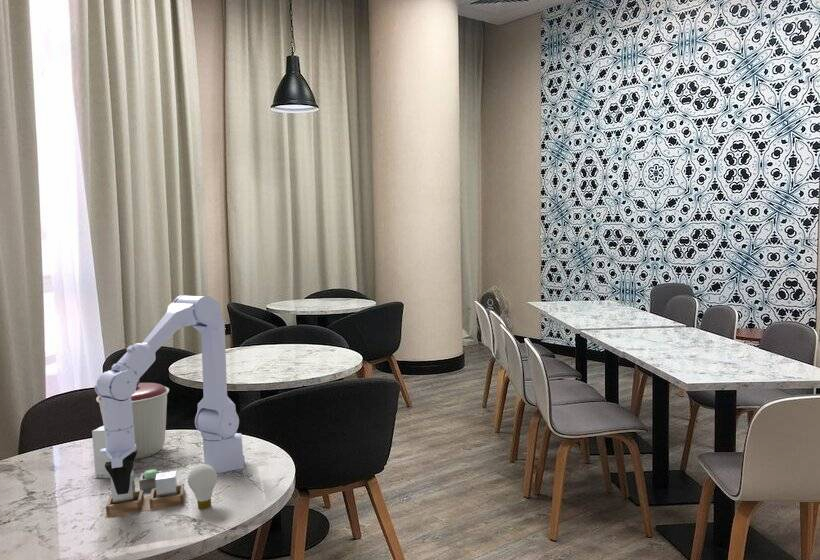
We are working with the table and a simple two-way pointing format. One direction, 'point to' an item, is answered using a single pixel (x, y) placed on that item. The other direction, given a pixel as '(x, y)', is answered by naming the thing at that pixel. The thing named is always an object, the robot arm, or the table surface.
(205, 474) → the light bulb
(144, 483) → the button housing
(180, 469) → the table surface
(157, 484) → the seated billet
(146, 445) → the canister
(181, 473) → the table surface
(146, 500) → the wooden divided tray
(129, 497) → the billet
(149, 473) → the button
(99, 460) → the skincare box
